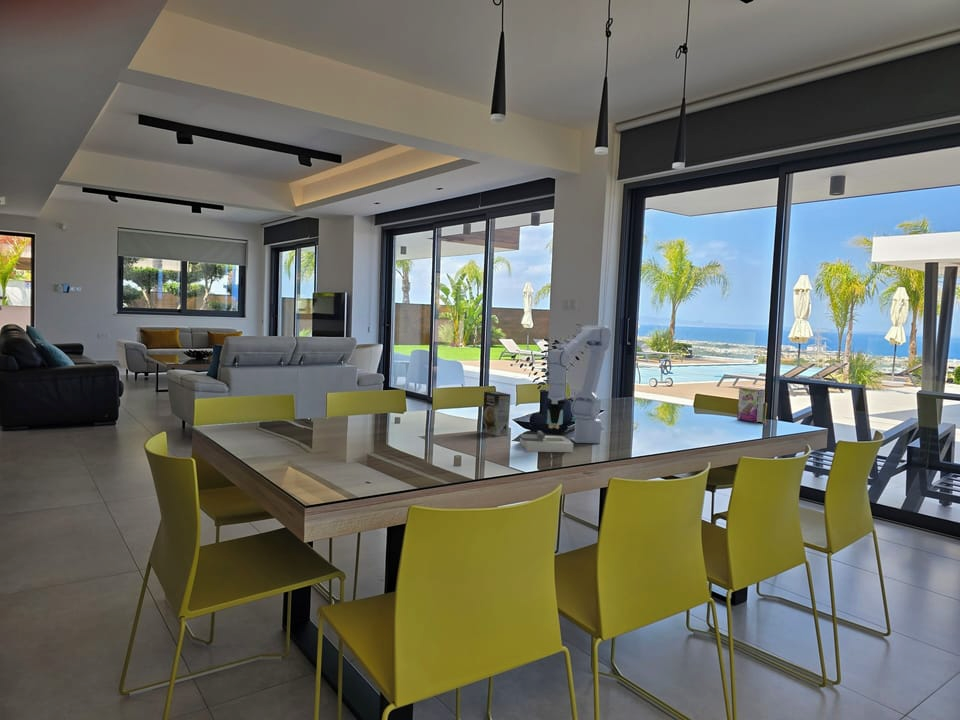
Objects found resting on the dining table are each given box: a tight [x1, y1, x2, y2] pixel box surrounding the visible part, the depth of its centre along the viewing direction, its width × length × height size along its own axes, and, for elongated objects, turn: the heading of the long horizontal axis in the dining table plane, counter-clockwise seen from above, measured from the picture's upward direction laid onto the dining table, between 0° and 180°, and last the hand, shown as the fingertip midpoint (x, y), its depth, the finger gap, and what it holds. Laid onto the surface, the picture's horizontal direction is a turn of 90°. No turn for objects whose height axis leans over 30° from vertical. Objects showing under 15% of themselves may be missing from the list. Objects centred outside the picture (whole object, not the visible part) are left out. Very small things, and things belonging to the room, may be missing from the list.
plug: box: [546, 409, 564, 430], centre depth 221 cm, size 4×4×6 cm
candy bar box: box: [736, 386, 766, 424], centre depth 309 cm, size 11×5×16 cm, turn 30°
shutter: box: [519, 430, 546, 441], centre depth 220 cm, size 8×7×2 cm
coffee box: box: [482, 390, 511, 437], centre depth 244 cm, size 9×6×16 cm
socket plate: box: [519, 435, 574, 453], centre depth 221 cm, size 16×14×3 cm
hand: (555, 421), depth 221 cm, fingers closed on plug, 5 cm apart
